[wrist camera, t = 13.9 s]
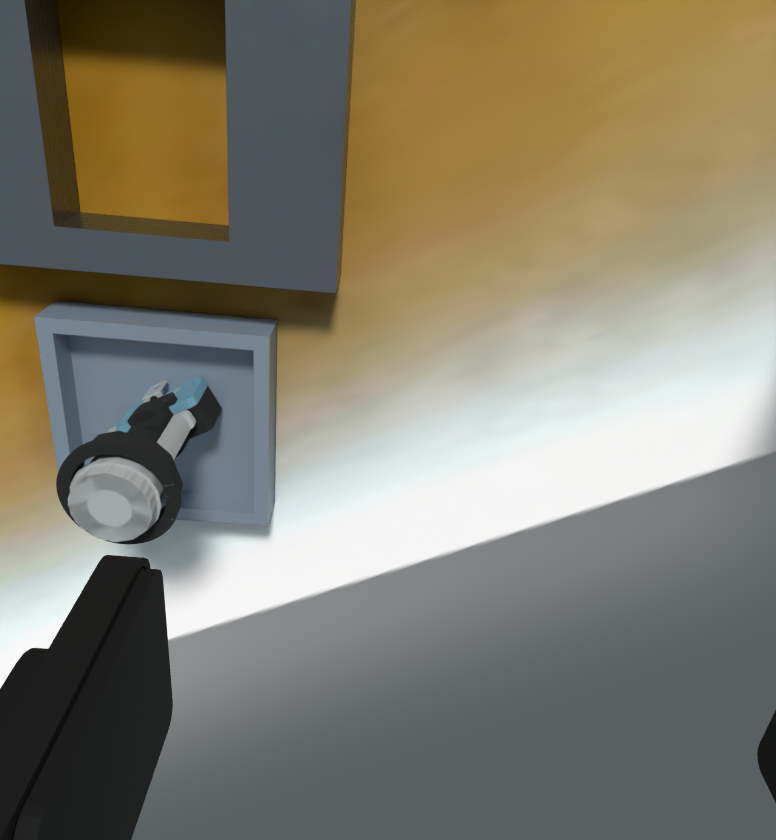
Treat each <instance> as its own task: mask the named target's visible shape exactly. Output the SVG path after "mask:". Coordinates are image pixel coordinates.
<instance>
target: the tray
mask: <svg viewBox="0 0 776 840" xmlns="http://www.w3.org/2000/svg"><path fill="white" fill-rule="evenodd" d="M34 319H35V325H36V332H37V338H38V345H39V351H40V358H41V365H42V371H43V378H44V384H45V391H46V397H47V404H48V410H49V417H50V423H51V430H52V436H53V443H54V450H55V456H56V463H57V469H58V471H59V469H60V467H61V465H62V463H63V462H64V460H65V459H66V458H67V457H68V455H69V454H70V453H71V452H72V451H73V450H75V449H76V448H77V447H79V446H81V445H82V444H85V443H87V442H90V441H92V440H93V439H94V438H95V437H96V436H98V435H99V434H103V433H109V429H110V428H113V427H115V426H117V424H118V423H119V422H120V421H121V420H122V418H123V417H124V416H125V414H126V413H127V412H128V410H129V409H130V408H131V407H133V406H134V405H136V404H138V403H141V402H143V399H142V398H143V397H145V396H144V395H145V394H146V392H147V391H148V390H149V388H150V387H152V386H153V385H155V384H158V383H160V382H162V381H165V380H167V381H168V382H167V383H166V385H165V386H164V388H163V389H162V390H161V393H165V392H167V391H169V390H172V389H174V388H176V387H179V386H181V385H183V384H186V383H188V382H191V381H193V380H194V379H196V378H199V377H203V378H204V380H205V381H206V383H207V385H208V386H209V388H210V390H211V391H212V393H213V395H214V396H215V398H216V399H217V401H218V403H219V404H220V406H221V407H222V410H221V412H220V415H219V417H218V419H217V421H216V423H215V425H214V427H213V428H212V429H211V430H210V431H208V432H206V433H203V434H201V435H198V436H196V437H193V438H191V439H189V441H188V443H187V445H186V447H185V448H184V450H183V451H182V453H181V454H180V455H179V456H177V457H176V458H175V459H174V462H175V465H176V467H177V470H178V472H179V475H180V477H181V480H182V482H183V487H182V492H181V507H180V510H179V513H178V515H177V517H176V519H180V520H192V521H205V522H218V523H230V524H243V525H256V526H268V525H269V521H270V517H271V514H272V510H273V507H274V503H275V454H276V380H277V320H275V319H263V318H252V317H240V316H229V315H217V314H205V313H194V312H182V311H171V310H159V309H147V308H136V307H124V306H113V305H101V304H89V303H78V302H66V301H55V302H53V303H52V304H51V305H49V306H48V307H47V308H45V309H44V310H43V311H41V312H40V313H39V314H37V315H36V316H35V317H34ZM158 387H159V386H158ZM158 387H156V388H158ZM156 388H155V389H156ZM116 431H118V430H116ZM93 458H94V457H91V458H89V459H87V460H85V462H84V467H85V466H87V465H88V464H89V463H90V462H91V460H92V459H93ZM165 505H166V496H165V497H164V498H163V500H162V502H161V508H162V507H164V506H165Z"/></svg>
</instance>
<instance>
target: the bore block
mask: <svg viewBox="0 0 776 840" xmlns="http://www.w3.org/2000/svg"><path fill="white" fill-rule="evenodd" d="M355 4H356V0H225V30H226V84H227V139H228V193H229V226H225V225H214V224H203V223H192V222H180V221H169V220H158V219H147V218H135V217H124V216H113V215H102V214H91V213H80V207H79V198H78V190H77V181H76V172H75V163H74V154H73V146H72V137H71V128H70V119H69V110H68V101H67V93H66V84H65V75H64V66H63V57H62V49H61V40H60V31H59V22H58V13H57V4H56V0H0V264H6V265H17V266H29V267H40V268H52V269H63V270H75V271H86V272H98V273H109V274H120V275H132V276H143V277H155V278H166V279H178V280H189V281H201V282H212V283H224V284H235V285H246V286H258V287H269V288H281V289H292V290H304V291H315V292H327V293H336V291H337V287H338V283H339V279H340V275H341V258H342V240H343V222H344V204H345V186H346V168H347V150H348V131H349V113H350V95H351V77H352V59H353V41H354V23H355Z"/></svg>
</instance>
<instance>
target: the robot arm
mask: <svg viewBox="0 0 776 840" xmlns="http://www.w3.org/2000/svg"><path fill="white" fill-rule="evenodd" d="M172 704H173V703H172V689H171V675H170V663H169V650H168V637H167V625H166V612H165V600H164V587H163V576H162V572H161V570H157V569H150V563H149V561H148V559H146V558H139V557H126V556H113V555H106V556H104V557H103V558H102V559H101V560H100V562H99V563H98V565H97V567H96V568H95V570H94V572H93V573H92V575H91V577H90V579H89V580H88V582H87V584H86V585H85V587H84V589H83V591H82V592H81V594H80V596H79V597H78V599H77V601H76V603H75V604H74V606H73V608H72V609H71V611H70V613H69V615H68V616H67V618H66V620H65V621H64V623H63V625H62V627H61V628H60V630H59V632H58V633H57V635H56V637H55V639H54V640H53V642H52V644H51V645H50V647H49V649H41V648H31V649H29V650H28V651H27V652H25V653H24V654H23V655H22V657H21V658H20V659H19V660H18V662H17V663H16V665H15V666H14V668H13V669H12V671H11V673H10V674H9V676H8V677H7V679H6V681H5V682H4V684H3V686H2V687H1V689H0V840H131V838H132V835H133V832H134V829H135V826H136V824H137V821H138V818H139V815H140V812H141V809H142V806H143V803H144V800H145V797H146V794H147V791H148V788H149V785H150V782H151V779H152V777H153V773H154V771H155V768H156V765H157V762H158V759H159V756H160V753H161V750H162V747H163V744H164V741H165V738H166V735H167V732H168V729H169V726H170V721H171V715H172V707H173V706H172ZM757 755H758V764H759V768H760V771H761V773H762V775H763V778H764V780H765V782H766V783H767V786H768V788H769V790H770V792H771V794H772V796H773V798H774V800H775V802H776V711H775V713H774V715H773V717H772V719H771V721H770V723H769V725H768V727H767V730H766V732H765V734H764V736H763V738H762V740H761V742H760V744H759V747H758V754H757Z"/></svg>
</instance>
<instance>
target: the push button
mask: <svg viewBox="0 0 776 840" xmlns="http://www.w3.org/2000/svg"><path fill="white" fill-rule="evenodd" d="M167 382H168V381H167V380H165V381H162V382H160V383H158V384H155V385H153V386H152V387H150V388H149V390H148V391H147V392H146V394H145V395H144V396H145V397H143V398H142V399H143V402H141V403H138V404H136V405H134V406H133V407H131V408H130V409H129V410H128V412H127V413H126V414H125V416H124V417H123V418H122V420H121V421H120V422H119V423H118V424H117V426H115V427H113V428H110V429H109V433H103V434H99V435H98V436H96V437H95V438H94V439H93V440H92V441H90V442H87V443H85V444H82V445H81V446H79V447H77V448H76V449H75V450H73V451H72V452H71V453H70V454H69V455H68V457H67V458H66V459H65V460H64V462H63V463H62V465H61V467H60V469H59V471H58V475H57V482H56V485H57V493H58V497H59V500H60V502H61V505H62V506H63V508H64V510H65V511H66V513H67V514H68V516H69V517H70V518H71V519H72V520H73V521H74V522H75V523H76V524H77V525H78V526H80V527H81V528H82V529H83V530H85V531H86V532H88V533H89V534H91V535H92V536H95V537H96V538H99V539H103V540H106V541H109V542H113V543H119V544H139V543H144V542H148V541H151V540H154V539H156V538H158V537H159V536H161V535H163V534H164V533H165V532H166V531H167V530H168V529H169V528H170V527H171V526H172V525H173V523H174V521H175V520H176V517H177V515H178V513H179V510H180V507H181V492H182V487H183V482H182V480H181V477H180V475H179V472H178V470H177V467H176V465H175V462H174V459H175V458H176V457H177V456H179V455H180V454H181V453H182V451H183V450H184V448H185V447H186V445H187V443H188V441H189V439H191V438H193V437H196V436H198V435H201V434H203V433H206V432H208V431H210V430H211V429H212V428H213V427H214V425H215V423H216V421H217V419H218V417H219V415H220V412H221V410H222V407H221V406H220V404H219V403H218V401H217V399H216V398H215V396H214V395H213V393H212V391H211V390H210V388H209V386H208V385H207V383H206V381H205V380H204V378H203V377H199V378H196V379H194V380H193V381H191V382H188V383H186V384H183V385H181V386H179V387H176V388H174V389H172V390H169V391H167V392H165V393H161V390H162V389H163V388H164V386H165V385H166V383H167ZM158 386H159V387H158ZM156 387H158V388H156ZM155 388H156V389H155ZM116 430H118V431H116ZM91 457H94V458H93V459H92V460H91V462H90V463H89V464H88V465H87V466H85V467H84V462H85V460H87V459H89V458H91ZM165 496H166V505H165V506H164V507H162V508H161V502H162V500H163V498H164V497H165Z"/></svg>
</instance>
